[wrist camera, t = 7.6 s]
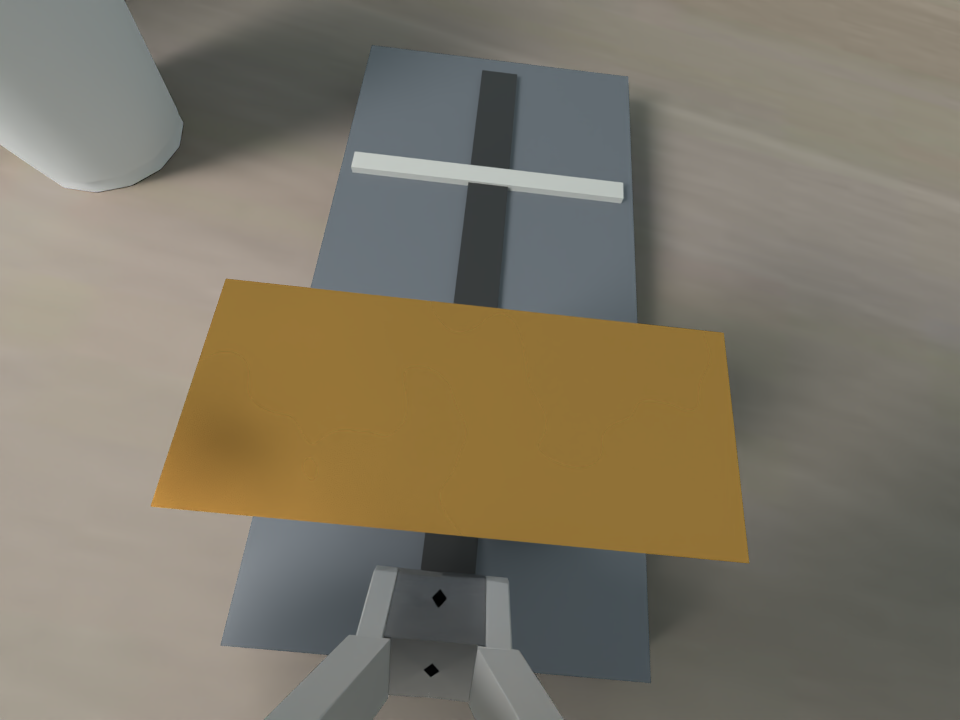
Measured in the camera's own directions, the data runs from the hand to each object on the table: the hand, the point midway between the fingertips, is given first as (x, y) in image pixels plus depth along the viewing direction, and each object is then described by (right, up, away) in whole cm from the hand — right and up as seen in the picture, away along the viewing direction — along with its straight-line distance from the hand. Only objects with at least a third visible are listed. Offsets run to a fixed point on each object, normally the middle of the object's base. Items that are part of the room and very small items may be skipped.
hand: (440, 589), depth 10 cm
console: (+1, +7, +8) cm, 11 cm away
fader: (0, +2, +4) cm, 4 cm away
